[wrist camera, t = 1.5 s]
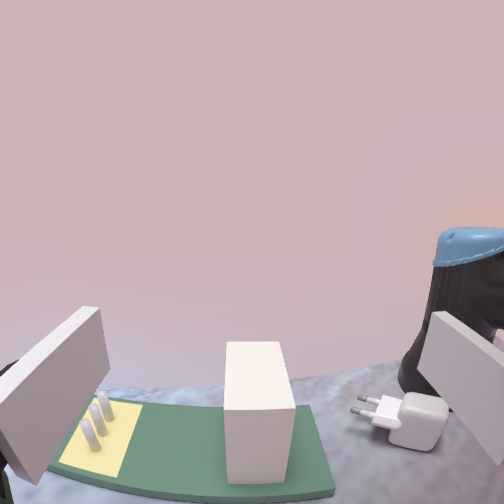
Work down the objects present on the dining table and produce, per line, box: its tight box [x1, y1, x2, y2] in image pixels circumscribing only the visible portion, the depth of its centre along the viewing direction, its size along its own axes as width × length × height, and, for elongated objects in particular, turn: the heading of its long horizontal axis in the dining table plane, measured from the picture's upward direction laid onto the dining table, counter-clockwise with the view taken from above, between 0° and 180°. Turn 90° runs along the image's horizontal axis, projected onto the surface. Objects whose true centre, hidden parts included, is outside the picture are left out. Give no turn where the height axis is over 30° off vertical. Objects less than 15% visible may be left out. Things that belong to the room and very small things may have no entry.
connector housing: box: [224, 342, 296, 484], centre depth 25 cm, size 5×10×10 cm, turn 3°
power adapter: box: [350, 392, 449, 451], centre depth 27 cm, size 11×5×6 cm, turn 55°
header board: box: [46, 390, 336, 504], centre depth 25 cm, size 30×13×6 cm, turn 93°
